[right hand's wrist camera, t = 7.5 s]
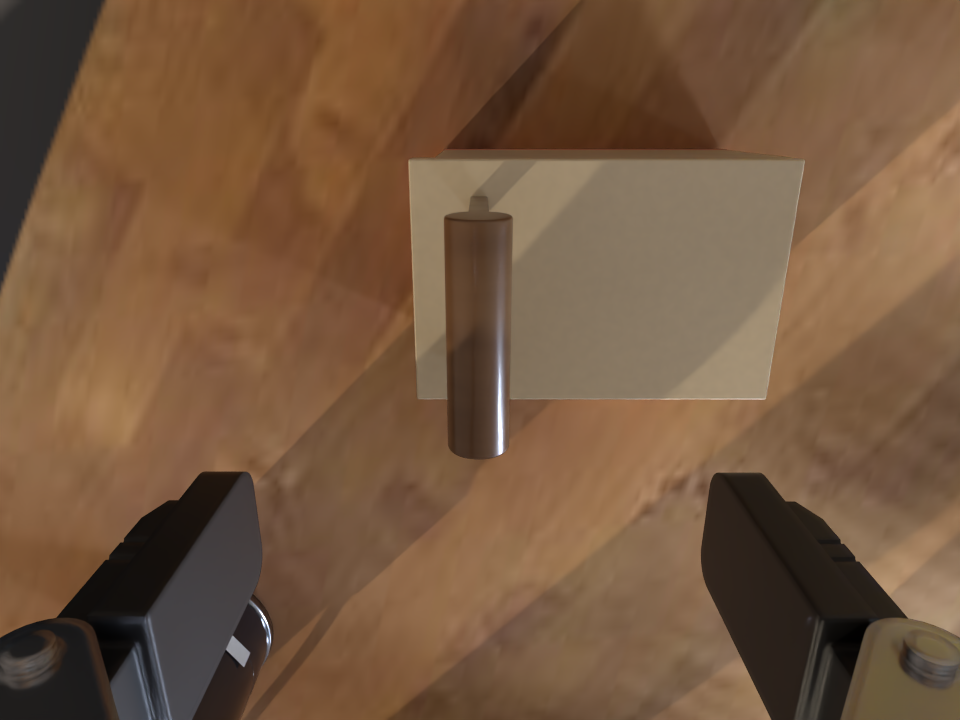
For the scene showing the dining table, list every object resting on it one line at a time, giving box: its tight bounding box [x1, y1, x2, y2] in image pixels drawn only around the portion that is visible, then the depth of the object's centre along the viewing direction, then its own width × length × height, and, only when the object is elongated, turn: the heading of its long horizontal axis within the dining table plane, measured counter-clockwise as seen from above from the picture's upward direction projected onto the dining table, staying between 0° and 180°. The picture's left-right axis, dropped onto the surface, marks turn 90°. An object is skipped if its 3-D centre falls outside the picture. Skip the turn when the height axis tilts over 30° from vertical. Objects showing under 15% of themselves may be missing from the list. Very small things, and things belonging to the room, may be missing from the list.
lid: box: [408, 158, 805, 459], centre depth 24 cm, size 16×10×9 cm, turn 90°
